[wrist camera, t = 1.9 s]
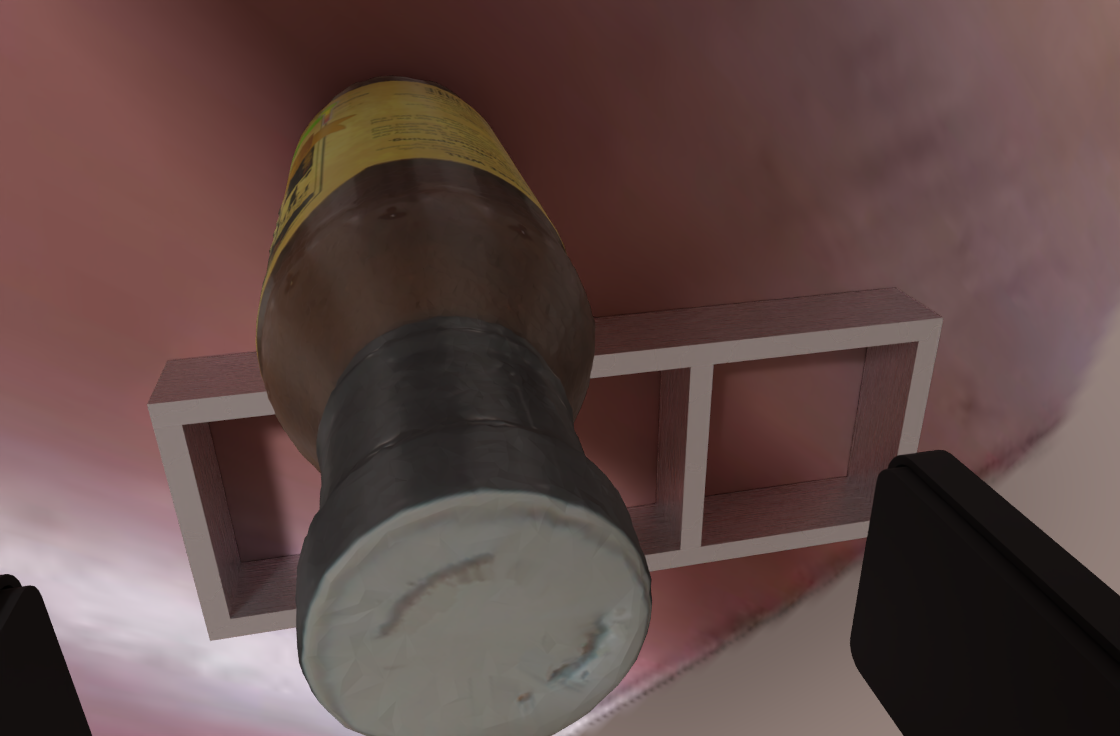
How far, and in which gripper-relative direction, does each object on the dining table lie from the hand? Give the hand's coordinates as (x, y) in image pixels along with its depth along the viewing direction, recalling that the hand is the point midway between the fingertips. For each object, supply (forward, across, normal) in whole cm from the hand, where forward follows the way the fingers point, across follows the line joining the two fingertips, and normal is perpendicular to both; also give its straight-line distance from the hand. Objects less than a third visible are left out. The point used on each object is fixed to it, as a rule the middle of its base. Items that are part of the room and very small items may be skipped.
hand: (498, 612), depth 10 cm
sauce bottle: (+20, 0, -1) cm, 20 cm away
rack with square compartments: (+20, -5, +9) cm, 22 cm away
